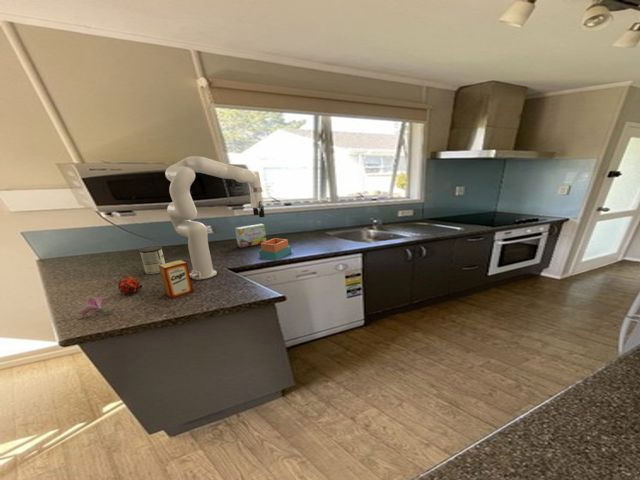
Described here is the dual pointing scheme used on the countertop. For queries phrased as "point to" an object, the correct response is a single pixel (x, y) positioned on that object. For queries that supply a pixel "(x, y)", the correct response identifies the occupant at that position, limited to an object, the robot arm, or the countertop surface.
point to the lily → (93, 304)
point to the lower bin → (275, 253)
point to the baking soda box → (176, 278)
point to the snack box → (250, 235)
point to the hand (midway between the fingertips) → (259, 216)
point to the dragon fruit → (129, 285)
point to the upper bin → (274, 245)
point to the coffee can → (152, 259)
